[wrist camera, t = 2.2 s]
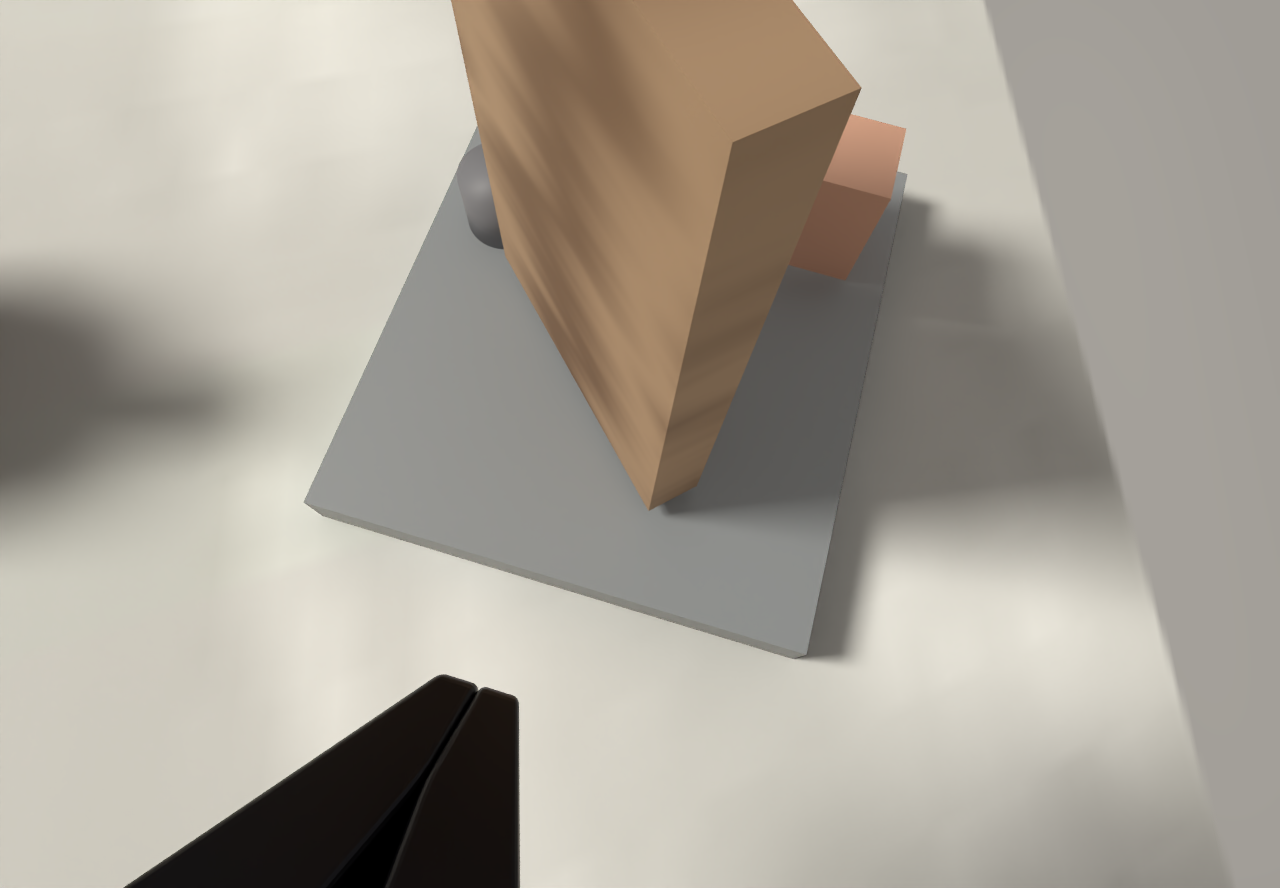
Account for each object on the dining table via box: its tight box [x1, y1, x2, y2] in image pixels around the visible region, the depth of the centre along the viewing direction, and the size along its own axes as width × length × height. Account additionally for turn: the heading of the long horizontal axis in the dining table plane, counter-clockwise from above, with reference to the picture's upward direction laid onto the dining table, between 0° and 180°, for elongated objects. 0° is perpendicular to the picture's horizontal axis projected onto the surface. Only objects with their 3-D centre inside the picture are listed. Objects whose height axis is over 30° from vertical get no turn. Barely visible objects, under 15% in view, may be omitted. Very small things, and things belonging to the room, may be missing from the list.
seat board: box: [304, 114, 907, 659], centre depth 22 cm, size 16×14×6 cm
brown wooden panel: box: [451, 0, 861, 511], centre depth 15 cm, size 9×2×14 cm, turn 29°
